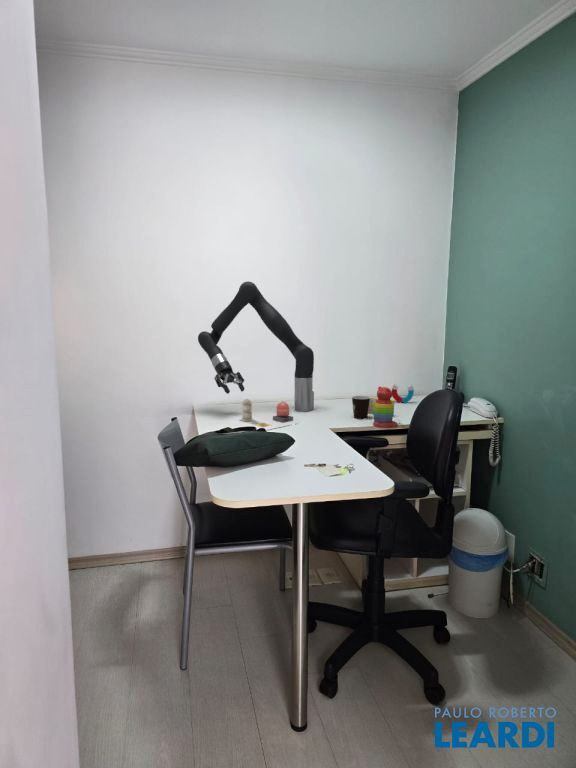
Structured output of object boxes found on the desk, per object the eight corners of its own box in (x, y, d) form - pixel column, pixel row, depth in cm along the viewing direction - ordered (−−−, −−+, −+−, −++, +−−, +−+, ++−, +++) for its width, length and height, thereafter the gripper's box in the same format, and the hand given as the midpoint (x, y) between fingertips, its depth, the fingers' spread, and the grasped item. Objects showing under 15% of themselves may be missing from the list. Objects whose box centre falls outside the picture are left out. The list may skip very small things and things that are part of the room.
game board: (269, 415, 275) (269, 410, 274) (300, 423, 259) (300, 417, 258) (226, 423, 258) (226, 418, 257) (256, 432, 241) (256, 426, 241)
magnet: (413, 402, 306) (414, 384, 305) (413, 403, 304) (413, 385, 302) (391, 401, 309) (392, 383, 308) (391, 402, 307) (391, 384, 305)
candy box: (394, 416, 274) (394, 399, 272) (392, 417, 272) (392, 400, 271) (364, 412, 283) (365, 396, 282) (362, 413, 281) (363, 396, 280)
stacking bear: (400, 426, 254) (401, 387, 251) (383, 429, 248) (384, 389, 245) (383, 421, 262) (384, 384, 259) (367, 424, 257) (368, 386, 254)
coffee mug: (368, 420, 265) (369, 399, 264) (350, 419, 267) (351, 398, 265) (370, 414, 276) (370, 395, 275) (352, 414, 278) (353, 394, 277)
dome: (283, 412, 264) (283, 400, 263) (292, 414, 260) (292, 402, 259) (273, 414, 260) (273, 401, 259) (282, 416, 256) (282, 403, 255)
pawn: (248, 418, 264) (248, 397, 263) (255, 420, 260) (255, 399, 259) (238, 420, 261) (238, 399, 259) (246, 422, 257) (245, 400, 255)
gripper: (212, 361, 264) (226, 388, 258) (236, 359, 274) (251, 385, 267) (206, 371, 269) (220, 398, 262) (230, 368, 278) (244, 394, 272)
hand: (235, 391), depth 265 cm, fingers open, 8 cm apart
